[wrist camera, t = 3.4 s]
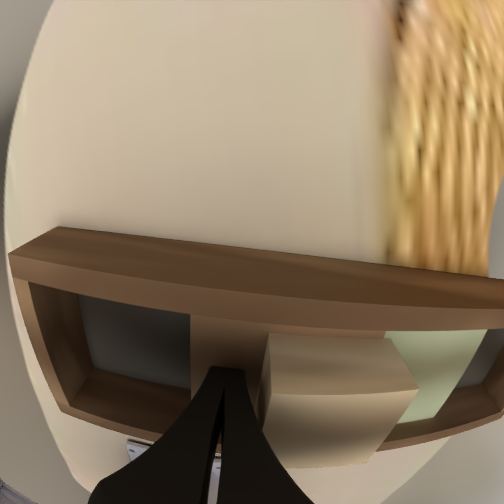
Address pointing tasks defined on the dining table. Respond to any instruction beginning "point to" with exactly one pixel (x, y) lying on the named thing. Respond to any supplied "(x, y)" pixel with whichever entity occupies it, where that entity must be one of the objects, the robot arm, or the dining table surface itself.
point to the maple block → (330, 398)
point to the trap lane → (244, 326)
